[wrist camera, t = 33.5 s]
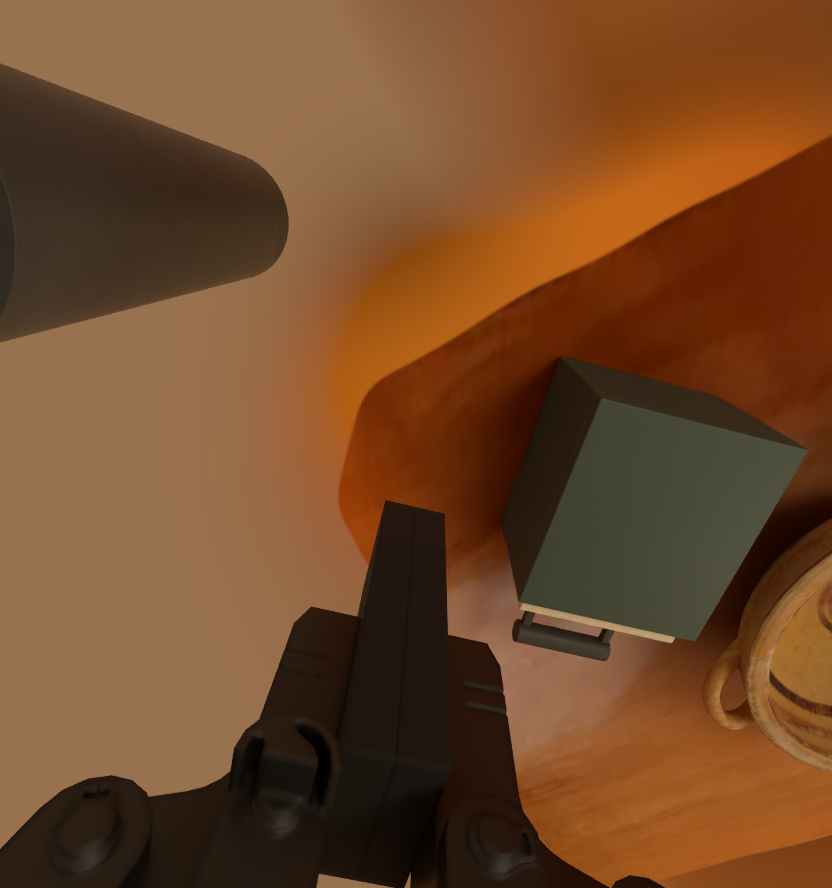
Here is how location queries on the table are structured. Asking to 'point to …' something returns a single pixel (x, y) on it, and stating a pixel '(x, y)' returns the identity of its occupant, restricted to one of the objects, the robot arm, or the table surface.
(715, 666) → the ceramic bowl
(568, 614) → the drawer
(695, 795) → the table surface
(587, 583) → the cabinet
